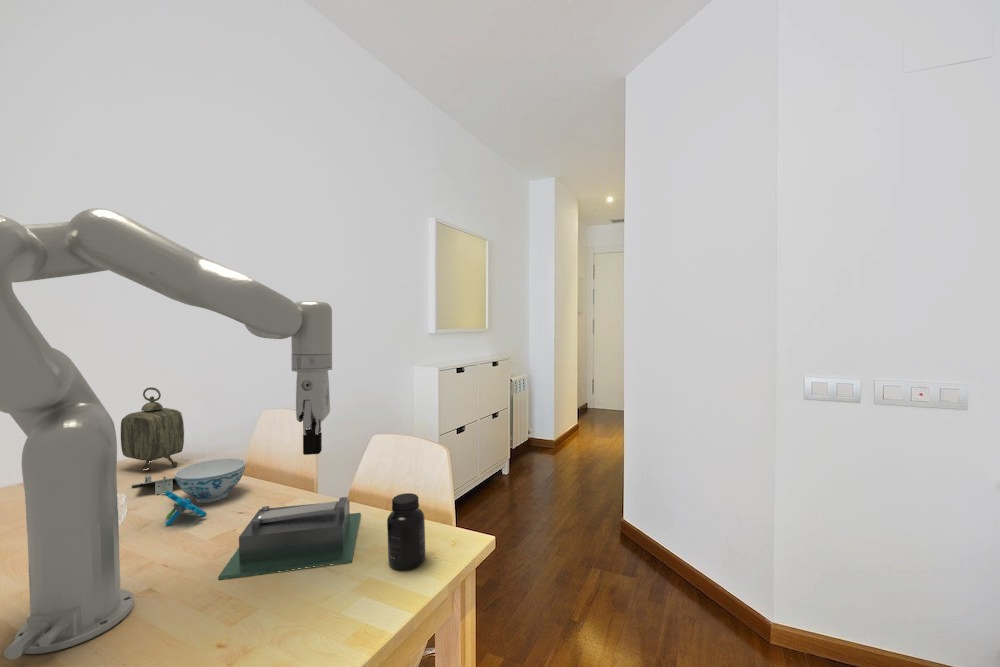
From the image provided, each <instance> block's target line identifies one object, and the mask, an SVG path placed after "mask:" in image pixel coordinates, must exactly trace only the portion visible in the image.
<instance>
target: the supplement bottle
mask: <svg viewBox="0 0 1000 667" xmlns="http://www.w3.org/2000/svg"><path fill="white" fill-rule="evenodd" d="M419 507H420V503H419V495H418V494H415V493H401V494H397V495H396V496H394V497H393V498H392V500H391V512H390V513H389V515H388V516H387V518H386V519H387V520H386V521H387V522H386V530H387V532H386V533H387V534H386V535H387V559H388V564H389V566H390V567H391V568H392V569H393V570H395V571H400V572H401V571H405V572H406V571H410V570H414V569H416V568H418V567H419V566H421V565H422V564H423V563H424V562H425V559H426V532H425V531H426V527H425V526H426V524H425V513H424V511H423V510H422V509H421V508H419Z"/></svg>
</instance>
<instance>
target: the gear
mask: <svg viewBox="0 0 1000 667" xmlns="http://www.w3.org/2000/svg"><path fill="white" fill-rule="evenodd" d="M163 495H164V496H166V497H167V498H168V499H169V500H172V501H174V502H175V503H173V505H172V507H173V508H172V509H171V510H170V512H169V513H168V514H167V515H166V516H165V517H166V518H167V521H166V522H165V523H164V524H165V525H167V526H171V524H173V522H174V521H175V520H176V519H177V518H178V517H179V515H180V514H183V513H184V512H185V511H186V510H189V511H192V512H193V513H194V514H196V515H198V516H201V517H203V518H204V517H205V516H206V515H207V513H208V512H206V511H205V510H203V509H202V508H200V507H199V506H196V505H195V504H194V503H192V500H191V499H189V498H186V499H185V498H183V497H182V496H180V495H177V494H176V493H174V492H173V493H171V492H170V491H168V490H167V491H166V492H165V494H163Z"/></svg>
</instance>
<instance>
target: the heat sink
mask: <svg viewBox="0 0 1000 667" xmlns="http://www.w3.org/2000/svg"><path fill="white" fill-rule="evenodd" d="M313 504H314V503H311V504H300V505H291V506H289V505H288V506H279V507H270V505H266V506H262V508H260V509H258V510H257V512H256V513H255V515H254V516H253V517H252V519H251V520H250V521H249V523H248V524H247V525H246V527H245V528H244V529H243V531H242V532H241V534H240V535H239V536H238V548H237V550H236V551H235V552H234V554H233V555H232V557H231V558H230V559H229V560H228V562H227V563H226V565H225V567H223V569H222V570H221V571H220V573H219V575H218V576H217V577H218V578H217V579H218V580H219V579H221V580H228V579H235V578H243V576H244V577H250V576H251V575H252V576H258V574H259V575H264V574H263V573H267V574H272V573H271V572H275V573H279V572H278V571H283V572H287V571H286V570H290V571H293V570H292V569H298V568H305V567H313V566H321V565H329V566H331V565H330V564H337V565H340V564H339V563H344V564H350V563H349V562H353V556H354V553H355V552H354V551H355V547H356V543H357V542H356V541H357V537H358V532H359V526H360V521H361V516H362V515H361V514H362V513H361V512H354V513H351V512H350V508H351V507H350V500H348V496H343V497H339V500H338V501H337V507H336V510H335V512H333V513H327V514H320V515H313V516H306V517H300V518H293V519H286V520H280V521H273V522H266V523H261V518H258V517H259V515H260V514H261V513H262V512H263V511H272V510H279V509H286V508H292V507H299V506H306V505H313ZM317 504H320V502H319V503H317ZM257 518H258V519H257ZM321 567H322V566H321ZM298 570H299V569H298ZM256 574H257V575H256ZM227 578H228V579H227Z"/></svg>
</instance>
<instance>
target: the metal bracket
mask: <svg viewBox="0 0 1000 667" xmlns="http://www.w3.org/2000/svg"><path fill="white" fill-rule="evenodd" d="M162 476H163V477H162V479H157V480H152V475H145V476H144V482H139V483H134V484H131V487H135V486H140V485H141V484H142V485H147V484H152V483H153V484H154V485H155V487H154V489H155V490H154V491H155V492H154V495H156V496H158V495H160V494H162V493H165V492H166V491H167V490H168V491H170V492H173V493H174V489H173V488H174V484H173V483H174V482H173V480H176V478H175V476H174V477H170V478H167V477H166V476H165V475H162ZM157 494H158V495H157ZM162 495H163V494H162Z"/></svg>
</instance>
